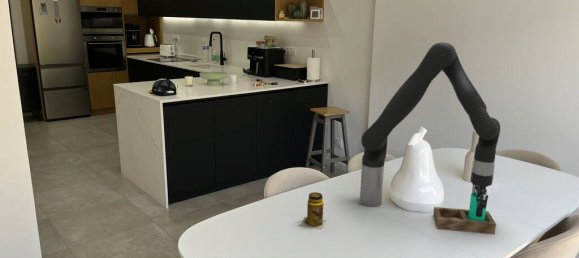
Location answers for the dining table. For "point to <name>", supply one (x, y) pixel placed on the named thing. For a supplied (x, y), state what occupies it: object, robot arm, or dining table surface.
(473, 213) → the candle
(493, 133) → the robot arm
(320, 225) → the condiment
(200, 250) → the dining table surface
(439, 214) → the slot rack
